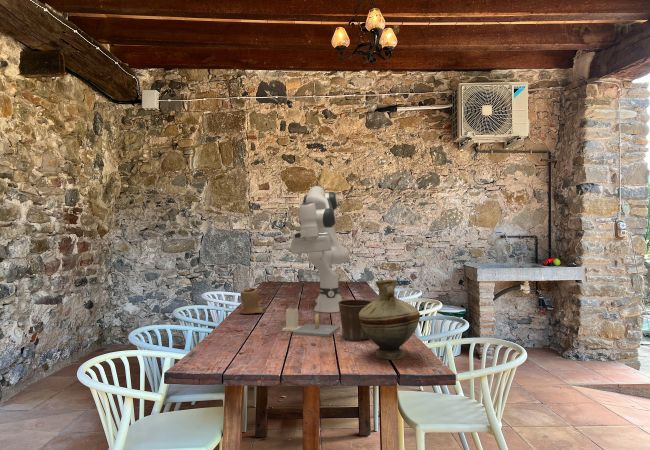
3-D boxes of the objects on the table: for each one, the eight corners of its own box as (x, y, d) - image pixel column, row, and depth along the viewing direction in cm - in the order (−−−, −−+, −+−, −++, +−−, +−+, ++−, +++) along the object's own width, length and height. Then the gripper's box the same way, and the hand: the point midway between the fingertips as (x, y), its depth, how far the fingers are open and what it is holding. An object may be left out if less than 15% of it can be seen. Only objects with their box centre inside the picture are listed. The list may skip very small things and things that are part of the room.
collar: (282, 330, 211) (282, 310, 212) (288, 327, 219) (288, 307, 219) (296, 331, 209) (296, 311, 209) (302, 328, 216) (301, 308, 216)
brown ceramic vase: (383, 346, 185) (375, 276, 186) (435, 350, 170) (425, 274, 171) (352, 362, 166) (342, 285, 167) (406, 369, 151) (396, 283, 152)
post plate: (292, 334, 204) (292, 316, 204) (306, 326, 221) (306, 310, 221) (329, 336, 198) (329, 319, 199) (339, 328, 216) (339, 311, 216)
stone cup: (238, 316, 249) (238, 290, 249) (241, 312, 261) (241, 287, 261) (264, 315, 249) (264, 289, 249) (266, 311, 261) (266, 286, 261)
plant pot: (372, 343, 187) (371, 306, 187) (335, 341, 191) (335, 305, 191) (375, 334, 203) (374, 299, 203) (341, 332, 206) (341, 299, 207)
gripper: (330, 232, 219) (332, 259, 217) (290, 236, 219) (292, 263, 218) (330, 231, 212) (332, 259, 211) (289, 235, 213) (291, 263, 211)
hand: (312, 261), depth 214 cm, fingers open, 8 cm apart
